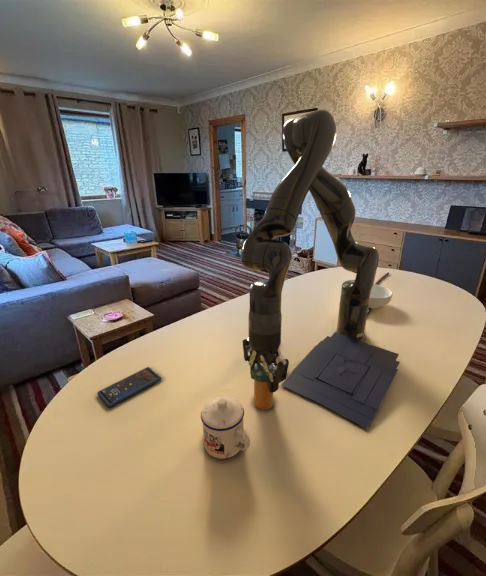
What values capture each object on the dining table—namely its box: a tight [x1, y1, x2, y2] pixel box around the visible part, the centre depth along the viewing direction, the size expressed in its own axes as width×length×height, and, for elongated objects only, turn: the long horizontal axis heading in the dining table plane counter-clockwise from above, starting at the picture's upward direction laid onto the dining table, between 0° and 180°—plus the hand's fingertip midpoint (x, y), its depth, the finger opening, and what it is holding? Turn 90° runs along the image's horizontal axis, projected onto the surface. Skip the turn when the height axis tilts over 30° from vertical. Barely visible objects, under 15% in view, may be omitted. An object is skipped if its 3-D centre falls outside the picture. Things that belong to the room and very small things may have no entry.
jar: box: [253, 379, 274, 411], centre depth 77 cm, size 5×5×10 cm
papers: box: [281, 331, 401, 429], centre depth 88 cm, size 24×30×4 cm
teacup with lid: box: [200, 395, 251, 460], centre depth 65 cm, size 12×9×12 cm
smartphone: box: [96, 366, 162, 408], centre depth 84 cm, size 8×1×15 cm
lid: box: [252, 362, 275, 382], centre depth 75 cm, size 6×6×2 cm
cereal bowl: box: [368, 283, 393, 310], centre depth 131 cm, size 17×17×7 cm
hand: (263, 383), depth 77 cm, fingers open, 6 cm apart
